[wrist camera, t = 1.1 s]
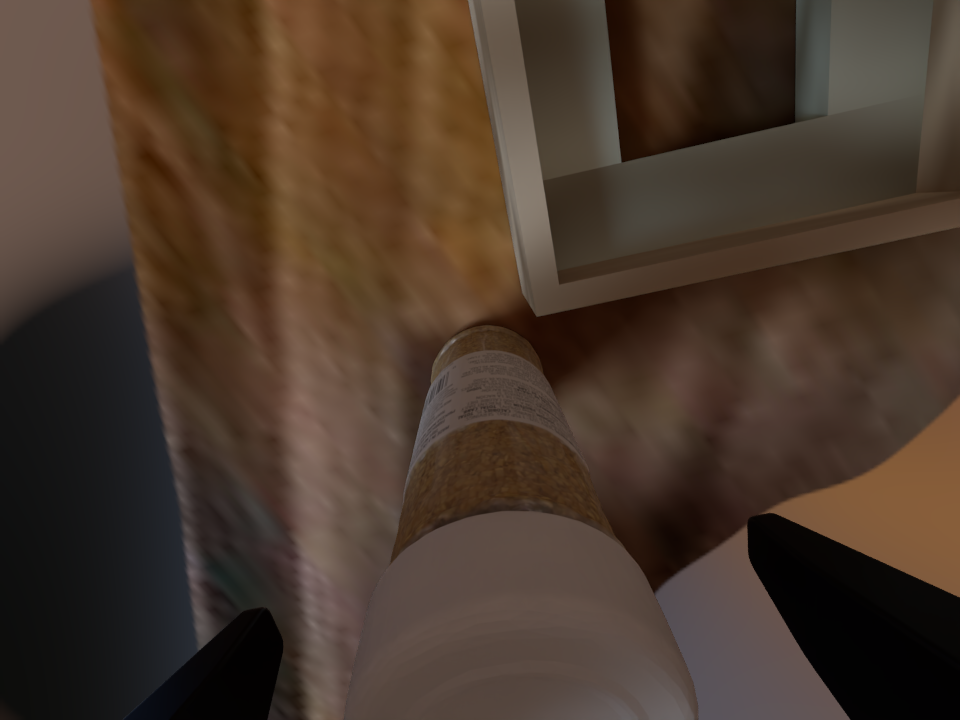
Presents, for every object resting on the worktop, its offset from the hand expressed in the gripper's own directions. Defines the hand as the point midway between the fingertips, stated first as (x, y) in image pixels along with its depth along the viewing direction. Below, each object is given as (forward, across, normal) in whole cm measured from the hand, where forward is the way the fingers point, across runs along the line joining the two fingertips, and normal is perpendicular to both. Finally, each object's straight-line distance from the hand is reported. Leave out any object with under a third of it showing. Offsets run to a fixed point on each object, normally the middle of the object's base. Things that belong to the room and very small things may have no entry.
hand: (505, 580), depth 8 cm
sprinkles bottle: (+11, 0, 0) cm, 11 cm away
